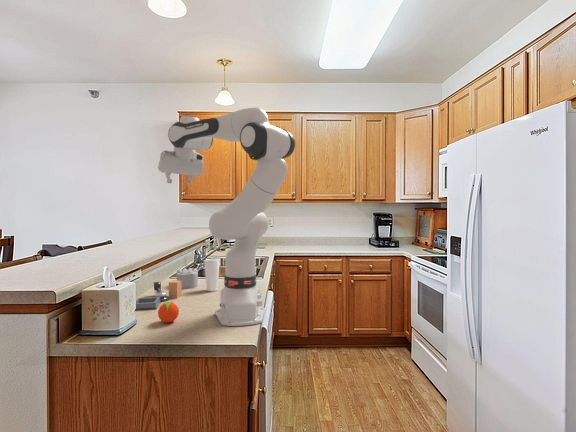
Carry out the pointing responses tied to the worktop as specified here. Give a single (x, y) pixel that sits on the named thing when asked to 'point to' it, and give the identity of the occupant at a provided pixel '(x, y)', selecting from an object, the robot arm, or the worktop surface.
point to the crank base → (164, 299)
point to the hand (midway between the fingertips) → (178, 183)
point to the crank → (159, 290)
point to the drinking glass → (212, 273)
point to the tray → (147, 303)
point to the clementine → (168, 312)
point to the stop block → (175, 289)
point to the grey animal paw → (188, 278)
